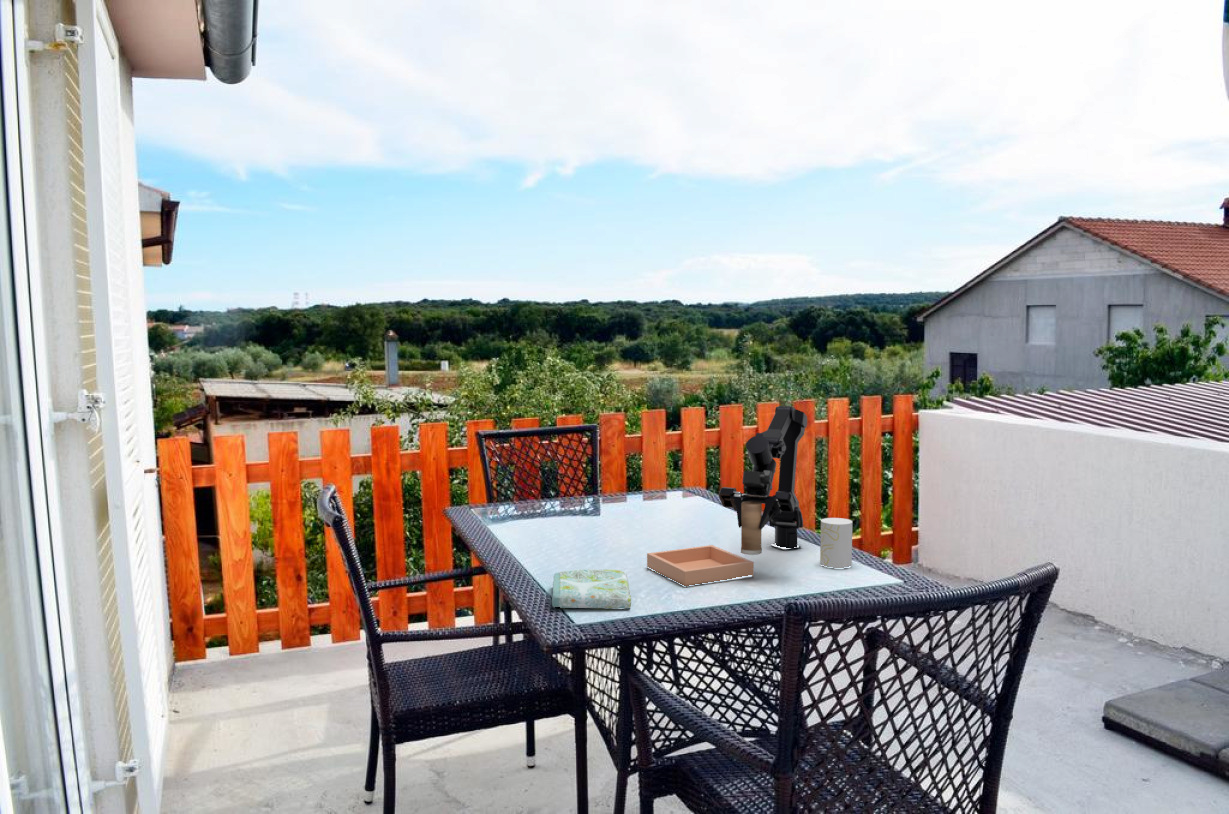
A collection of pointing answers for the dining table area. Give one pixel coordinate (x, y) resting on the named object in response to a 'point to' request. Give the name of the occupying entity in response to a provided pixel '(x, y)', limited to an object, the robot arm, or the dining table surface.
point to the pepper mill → (751, 528)
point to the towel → (591, 589)
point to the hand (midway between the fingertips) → (749, 527)
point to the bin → (699, 565)
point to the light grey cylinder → (836, 542)
